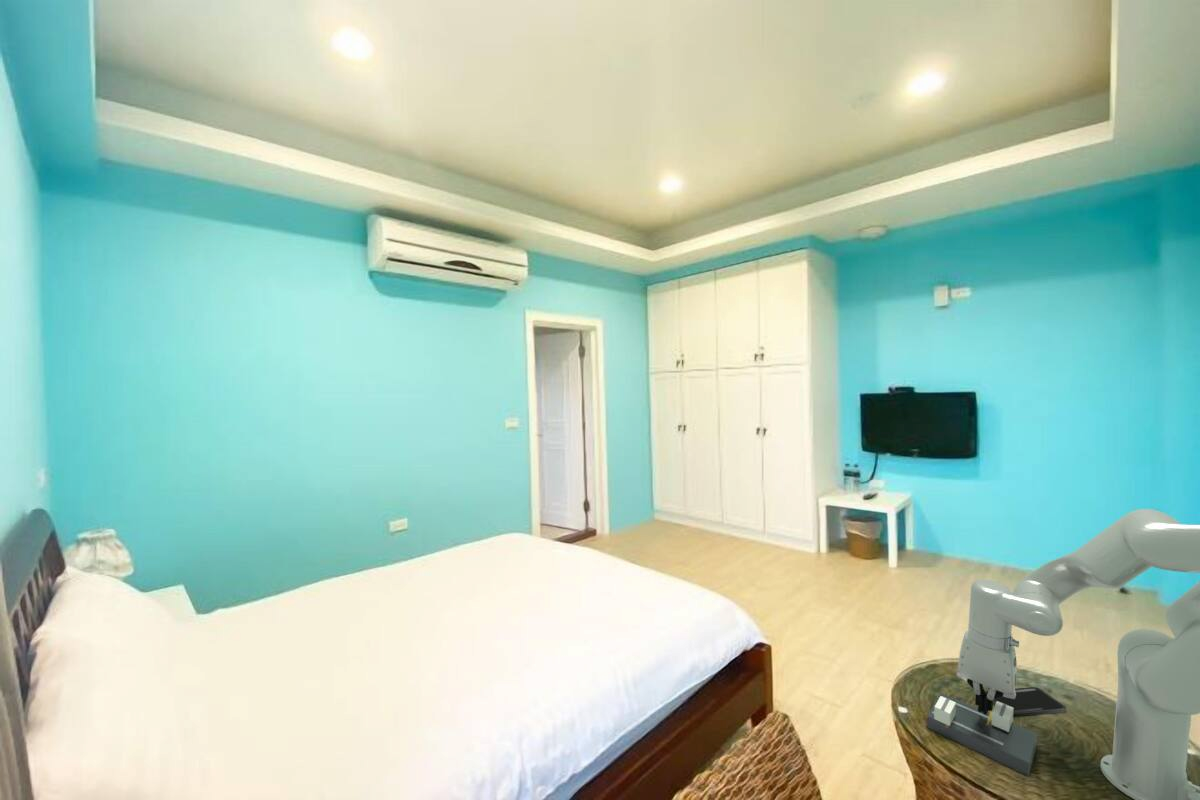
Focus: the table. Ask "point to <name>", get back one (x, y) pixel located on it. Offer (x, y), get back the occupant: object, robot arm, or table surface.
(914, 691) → the table surface
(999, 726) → the block
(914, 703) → the table surface
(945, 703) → the fader near
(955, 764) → the table surface
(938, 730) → the console
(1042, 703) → the phone
